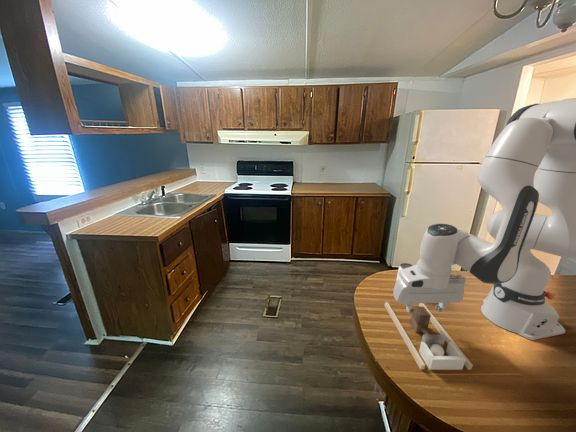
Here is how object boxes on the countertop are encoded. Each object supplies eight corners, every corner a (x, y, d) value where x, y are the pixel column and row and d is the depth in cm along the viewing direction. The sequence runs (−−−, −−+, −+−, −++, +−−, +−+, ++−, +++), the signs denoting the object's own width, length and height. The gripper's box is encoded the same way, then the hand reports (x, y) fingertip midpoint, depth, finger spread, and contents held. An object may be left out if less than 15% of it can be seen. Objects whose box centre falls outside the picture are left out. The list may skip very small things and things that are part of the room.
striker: (423, 322, 79) (427, 306, 76) (442, 349, 69) (447, 331, 67) (406, 323, 79) (409, 306, 76) (422, 349, 69) (427, 331, 67)
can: (413, 297, 93) (419, 272, 89) (396, 295, 94) (401, 270, 90) (409, 287, 99) (414, 263, 95) (393, 285, 100) (397, 261, 96)
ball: (444, 343, 66) (448, 357, 64) (437, 344, 69) (442, 357, 67) (432, 343, 66) (436, 357, 64) (426, 344, 69) (430, 358, 67)
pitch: (420, 308, 87) (422, 301, 86) (469, 373, 64) (472, 365, 62) (383, 308, 87) (385, 302, 86) (419, 373, 63) (421, 365, 62)
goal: (448, 352, 68) (452, 341, 67) (462, 369, 63) (465, 359, 62) (418, 352, 68) (421, 342, 67) (429, 370, 63) (432, 359, 62)
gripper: (459, 268, 72) (450, 303, 77) (394, 270, 73) (389, 304, 78) (474, 281, 66) (463, 317, 71) (403, 282, 67) (396, 319, 72)
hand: (423, 311), depth 75 cm, fingers open, 8 cm apart
